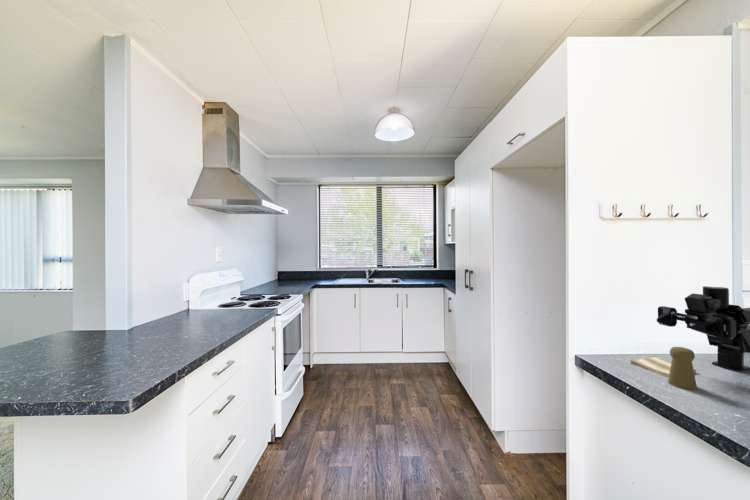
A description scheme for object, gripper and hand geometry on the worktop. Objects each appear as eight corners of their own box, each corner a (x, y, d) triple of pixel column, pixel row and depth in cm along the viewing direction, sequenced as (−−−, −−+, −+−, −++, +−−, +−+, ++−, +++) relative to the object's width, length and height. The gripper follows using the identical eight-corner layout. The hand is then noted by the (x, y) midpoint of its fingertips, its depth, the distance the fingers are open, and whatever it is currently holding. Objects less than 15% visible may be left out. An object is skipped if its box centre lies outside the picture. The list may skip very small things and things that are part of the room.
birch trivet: (655, 359, 109) (655, 356, 109) (695, 372, 98) (695, 369, 98) (630, 363, 107) (630, 360, 107) (669, 377, 95) (669, 374, 95)
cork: (703, 390, 87) (702, 352, 86) (678, 389, 88) (677, 351, 88) (686, 381, 93) (685, 345, 92) (662, 379, 94) (662, 344, 94)
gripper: (675, 290, 108) (641, 293, 105) (750, 299, 90) (712, 303, 86) (675, 321, 109) (641, 325, 105) (750, 336, 90) (712, 342, 87)
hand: (673, 323), depth 96 cm, fingers open, 9 cm apart
